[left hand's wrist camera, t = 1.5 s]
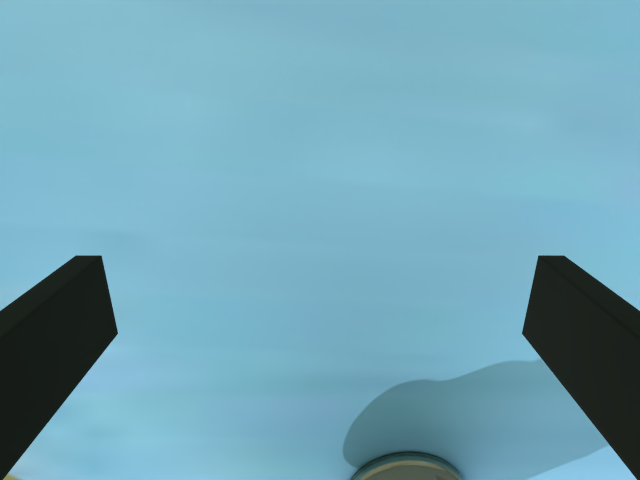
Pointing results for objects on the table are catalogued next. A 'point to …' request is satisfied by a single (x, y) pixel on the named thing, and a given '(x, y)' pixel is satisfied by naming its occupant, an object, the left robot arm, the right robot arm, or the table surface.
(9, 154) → the table surface
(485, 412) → the table surface
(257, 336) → the table surface
